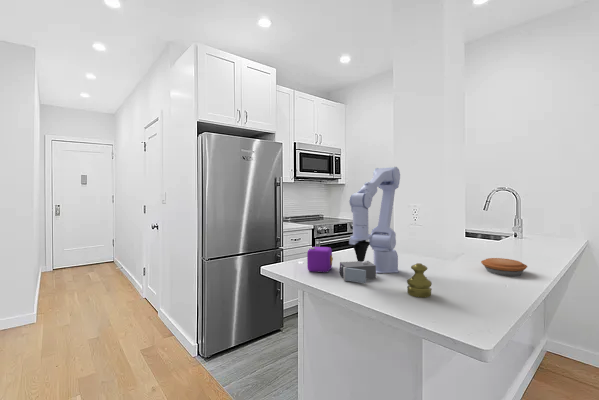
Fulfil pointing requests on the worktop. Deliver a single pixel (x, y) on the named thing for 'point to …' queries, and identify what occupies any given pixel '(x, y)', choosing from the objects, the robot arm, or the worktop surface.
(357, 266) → the block
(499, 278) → the worktop surface
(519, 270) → the pie
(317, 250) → the toy camera
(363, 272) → the door
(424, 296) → the olive chess piece
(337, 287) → the worktop surface
